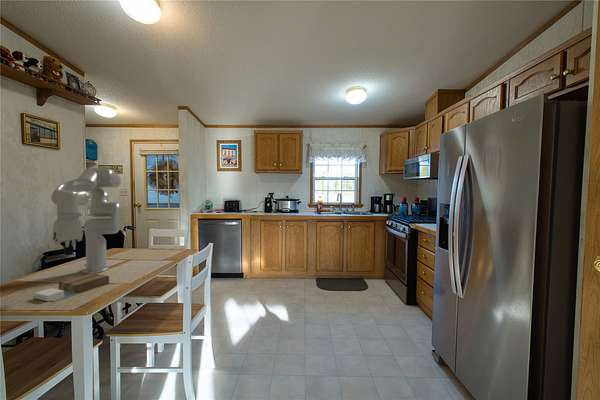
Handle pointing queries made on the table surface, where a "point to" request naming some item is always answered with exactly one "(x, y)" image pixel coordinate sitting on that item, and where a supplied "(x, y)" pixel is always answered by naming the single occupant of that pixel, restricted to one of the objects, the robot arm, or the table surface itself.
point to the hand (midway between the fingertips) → (68, 254)
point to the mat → (66, 295)
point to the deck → (83, 282)
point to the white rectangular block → (49, 294)
